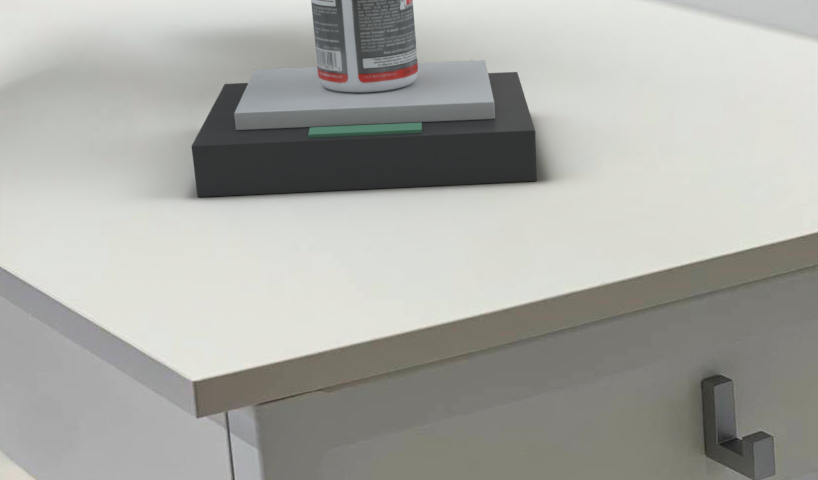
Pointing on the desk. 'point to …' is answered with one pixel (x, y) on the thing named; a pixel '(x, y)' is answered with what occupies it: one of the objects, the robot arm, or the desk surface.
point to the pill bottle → (365, 44)
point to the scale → (365, 133)
